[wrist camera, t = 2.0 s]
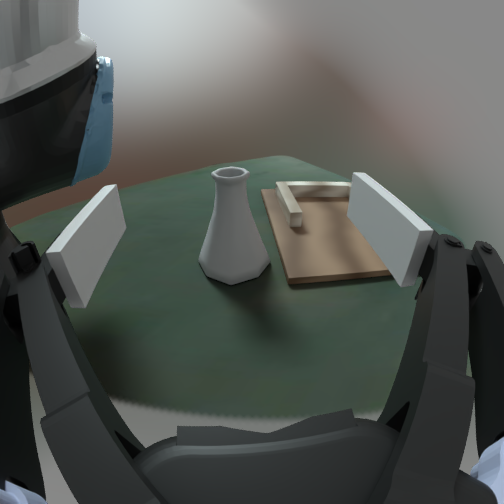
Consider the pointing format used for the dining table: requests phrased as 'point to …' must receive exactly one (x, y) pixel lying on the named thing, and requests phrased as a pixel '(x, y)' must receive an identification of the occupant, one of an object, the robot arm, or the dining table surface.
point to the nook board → (318, 233)
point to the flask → (232, 232)
